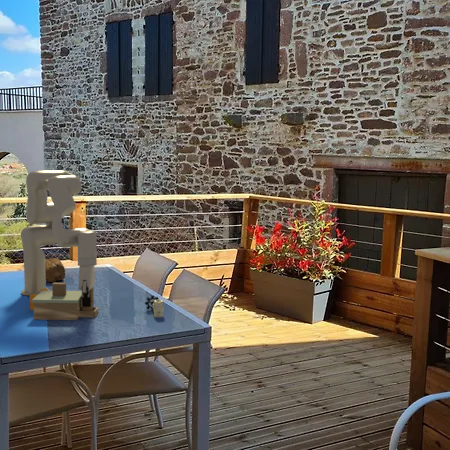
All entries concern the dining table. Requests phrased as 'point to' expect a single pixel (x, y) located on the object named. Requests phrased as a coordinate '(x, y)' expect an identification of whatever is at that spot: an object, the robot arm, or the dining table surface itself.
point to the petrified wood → (54, 270)
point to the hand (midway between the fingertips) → (87, 304)
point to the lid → (58, 295)
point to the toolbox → (61, 311)
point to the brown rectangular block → (91, 301)
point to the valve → (155, 306)
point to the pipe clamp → (33, 297)
